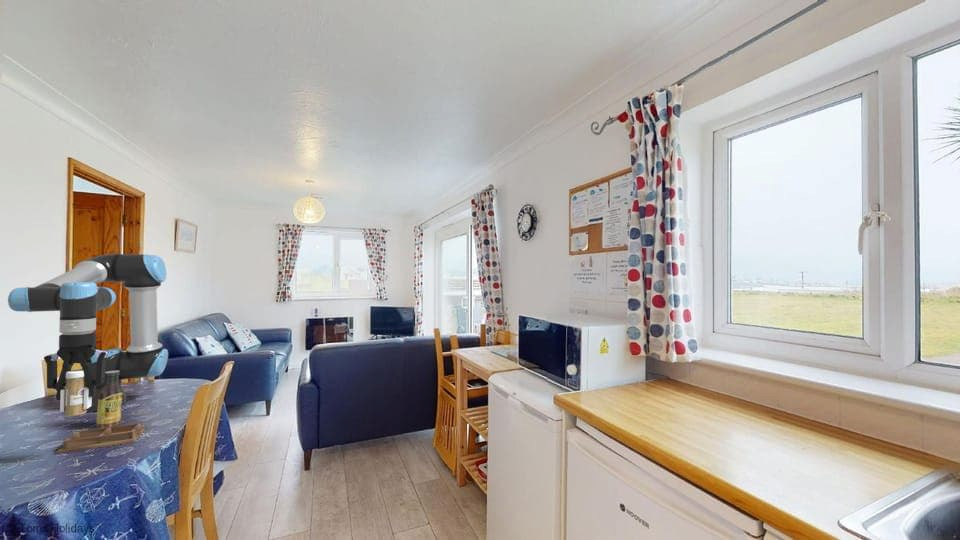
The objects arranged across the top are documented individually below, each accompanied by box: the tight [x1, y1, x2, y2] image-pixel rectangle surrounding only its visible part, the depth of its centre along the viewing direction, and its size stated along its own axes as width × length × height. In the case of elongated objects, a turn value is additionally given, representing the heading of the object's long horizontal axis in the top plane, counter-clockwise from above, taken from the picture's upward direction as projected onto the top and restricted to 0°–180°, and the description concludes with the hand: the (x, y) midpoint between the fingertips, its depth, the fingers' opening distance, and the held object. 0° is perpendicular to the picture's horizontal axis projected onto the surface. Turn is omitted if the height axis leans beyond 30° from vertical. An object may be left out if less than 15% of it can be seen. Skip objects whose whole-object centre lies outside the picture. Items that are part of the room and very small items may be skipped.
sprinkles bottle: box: [64, 368, 88, 418], centre depth 110 cm, size 5×5×14 cm
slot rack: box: [55, 422, 148, 455], centre depth 120 cm, size 12×18×3 cm, turn 117°
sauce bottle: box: [96, 371, 123, 429], centre depth 132 cm, size 6×6×20 cm
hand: (76, 408), depth 110 cm, fingers closed on sprinkles bottle, 4 cm apart
